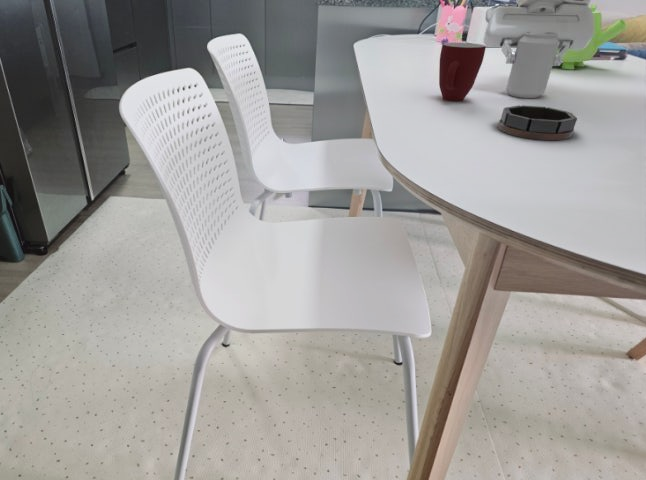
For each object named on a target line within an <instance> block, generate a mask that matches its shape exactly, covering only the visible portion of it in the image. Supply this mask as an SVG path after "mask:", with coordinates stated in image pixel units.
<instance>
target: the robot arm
mask: <svg viewBox="0 0 646 480" xmlns="http://www.w3.org/2000/svg"><path fill="white" fill-rule="evenodd" d="M590 3H591V0H516V4H512V3H509V4H501V3H497V4H494V5H492V6H490V7H489V8H487V10H486V13H485V21H486V23H487V26H486V29H485V32H484V36H483V41H482V43H483V45H485V46H486V47H489V48H501V53H503V56H505V64H508V65H512V64H513V63H514V61H515V59H516V56H515V55H516V51H513V49H517V45H518V41H519V40H520V39H521V38H522V37H523V36H524V32H530V33H531V34H542V33H547V32H551V33H558V34H559V35H558V36H557V39H558V41H559V46H558V49H559V53H556V56H555V60H554V63H553V66H552V67H560V66H561V65H562V64H563V61H562V59H563V56H564V54H565V53H566V52H567V50H583V49H584V48H585V47H586V46H587V45H588V44H589V43H590V41H591V39H592V37H593V34H594V17H593V12H592V10H591V8H590ZM512 48H513V49H512Z"/></svg>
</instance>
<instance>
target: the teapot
mask: <svg viewBox="0 0 646 480" xmlns="http://www.w3.org/2000/svg"><path fill="white" fill-rule="evenodd" d="M589 7H590V8H591V10H592V12H593V17H594V34H593V37H592V39H591V41H590V43H589V44H588V45H587V46H586V47H585V48H584V49H583V50H567V52H566V53H565V54H564V56H563V59H562V63H561V69H563V70H575V67H578V68H579V67H581V68H582V67H583V68H584V67H585V65H584V62H587V61H590V60H591V59H592V58H593V57H594V56H595V55H596V53H597V52H598V50H599V48H600V47H601V46H603V45H604V44H606V43H607V42H609V41H610V40H611V39H613V38H615V37H616V36H617V35H619V34H620V33H622V32H624V31H625V30H627V29H628V25H627V24H626V22H625V21H624V20H623V19H619V20H617V21H616V22H614V23H613V24H612V25H610V26H609V27H607V28H605V30H604V31H603V32H602V28H603V26H602V24H603V23H602V22H603V21H602V19H603V18H602V13H601V11H596V9H597V8H598V4H593V5H589ZM557 53H559V49H558V50H557Z"/></svg>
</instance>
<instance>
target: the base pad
mask: <svg viewBox="0 0 646 480" xmlns="http://www.w3.org/2000/svg"><path fill="white" fill-rule="evenodd" d="M577 121H578V117H577V116H575V114H574V113H573V112H569V111H567V110H562V109H558V108H553V107H546V106H539V105H538V106H537V105H525V104H523V105H513V106H506V107H504V108H503V109H502V112H501V116H500V119H499V120H498V124H497V129H498V130H499V131H501V132H502V133H505V134H507V135H510V136H514V137H519V138H523V139H528V140H529V139H530V140H535V141H536V140H537V141H563V140H568V139H570V138H572V137H573V135H574V132H575V131H574V130H575V126H576V124H577Z"/></svg>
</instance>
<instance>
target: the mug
mask: <svg viewBox="0 0 646 480" xmlns="http://www.w3.org/2000/svg"><path fill="white" fill-rule="evenodd" d="M486 47H487V46H486V45H485V44H481V43H470V42H445V43H442V45H441V49H440V55H439V66H438V67H439V71H438V73H439V74H438V84H439V90H440V93H441V97H442V99H443V100H446V101H450V102H451V101H452V102H461V101H463V100H465V98H466V97H467V95H468V94H469V93H470V92H471V90H472V88H473V86H474V84H475V82H476V79H477V77H478V75H479V71H480V69H481V66H482V65H483V61H484V58H485V53H486Z"/></svg>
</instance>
